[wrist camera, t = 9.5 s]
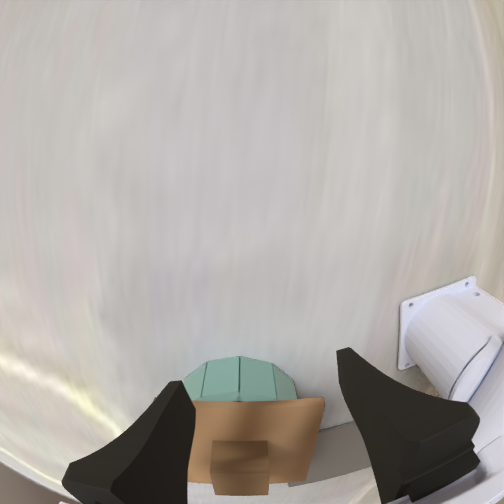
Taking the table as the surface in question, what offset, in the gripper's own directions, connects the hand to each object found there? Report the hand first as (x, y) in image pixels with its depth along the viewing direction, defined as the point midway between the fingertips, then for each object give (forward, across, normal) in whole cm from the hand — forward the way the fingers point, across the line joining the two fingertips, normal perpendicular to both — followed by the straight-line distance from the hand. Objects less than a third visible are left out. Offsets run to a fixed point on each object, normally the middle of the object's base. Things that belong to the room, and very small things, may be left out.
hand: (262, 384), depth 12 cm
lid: (+6, +4, +13) cm, 15 cm away
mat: (+10, -6, +25) cm, 28 cm away
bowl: (+10, +4, +11) cm, 16 cm away
